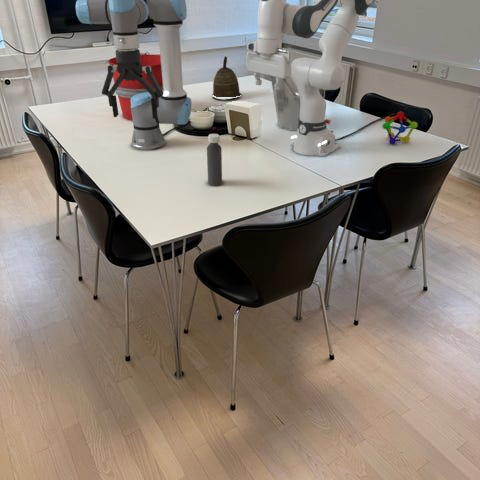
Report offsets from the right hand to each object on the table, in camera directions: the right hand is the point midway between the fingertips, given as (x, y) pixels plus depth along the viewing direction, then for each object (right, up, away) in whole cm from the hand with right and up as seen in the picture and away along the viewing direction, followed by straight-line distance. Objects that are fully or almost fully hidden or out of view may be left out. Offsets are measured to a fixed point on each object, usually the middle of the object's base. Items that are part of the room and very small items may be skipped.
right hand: (267, 87), depth 163 cm
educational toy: (+64, -10, +48) cm, 80 cm away
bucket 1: (-63, +14, +85) cm, 107 cm away
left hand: (-45, -15, -13) cm, 50 cm away
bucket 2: (+19, +4, +70) cm, 73 cm away
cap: (-20, -19, -2) cm, 27 cm away
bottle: (-20, -34, +8) cm, 40 cm away
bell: (-19, +34, +118) cm, 125 cm away
